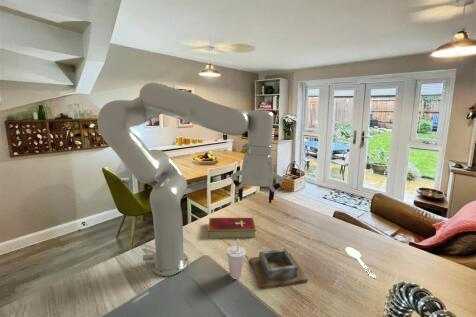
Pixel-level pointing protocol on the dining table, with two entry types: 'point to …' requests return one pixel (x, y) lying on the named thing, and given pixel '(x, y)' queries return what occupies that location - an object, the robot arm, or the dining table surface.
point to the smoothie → (236, 260)
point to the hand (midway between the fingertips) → (255, 200)
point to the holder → (277, 269)
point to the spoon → (357, 255)
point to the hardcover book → (231, 227)
